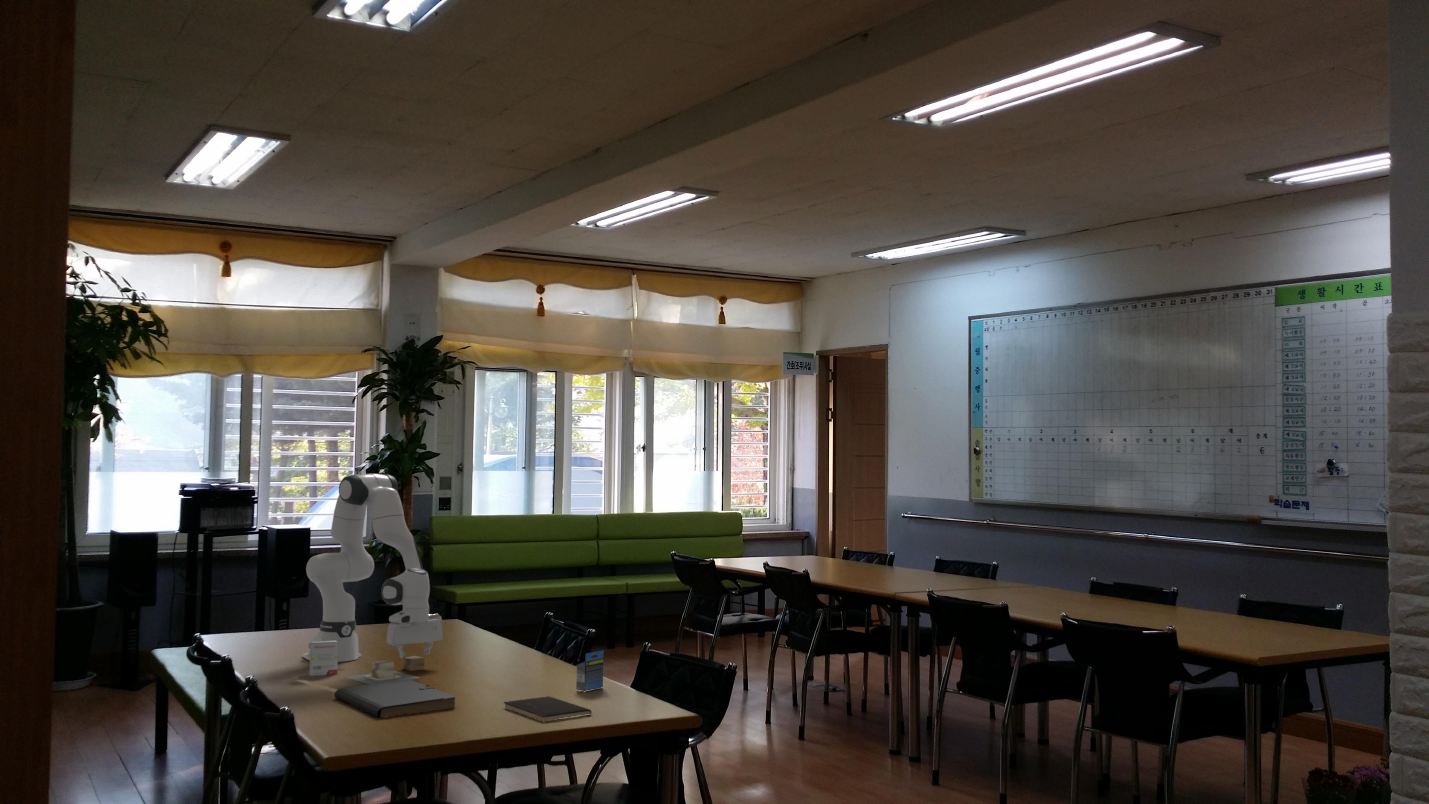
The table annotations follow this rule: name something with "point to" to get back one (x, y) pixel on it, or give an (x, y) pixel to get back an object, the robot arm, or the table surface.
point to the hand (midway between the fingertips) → (414, 656)
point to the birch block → (382, 669)
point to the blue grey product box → (590, 672)
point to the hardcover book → (546, 708)
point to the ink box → (323, 658)
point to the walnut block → (413, 663)
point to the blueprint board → (370, 680)
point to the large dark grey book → (395, 698)
